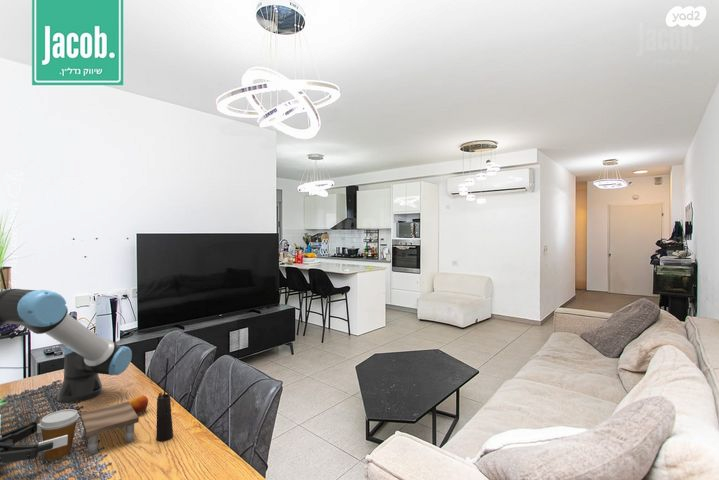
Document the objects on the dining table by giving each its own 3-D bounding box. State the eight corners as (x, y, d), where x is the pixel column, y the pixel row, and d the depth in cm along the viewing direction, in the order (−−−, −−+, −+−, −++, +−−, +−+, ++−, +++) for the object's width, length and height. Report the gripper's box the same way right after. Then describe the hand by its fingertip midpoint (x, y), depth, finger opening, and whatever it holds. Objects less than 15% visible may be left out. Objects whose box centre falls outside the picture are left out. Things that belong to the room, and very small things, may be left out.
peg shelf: (79, 436, 120) (80, 413, 120) (127, 422, 129) (128, 401, 130) (85, 457, 108) (86, 432, 108) (137, 441, 118) (138, 417, 118)
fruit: (140, 416, 131) (132, 397, 132) (125, 425, 133) (116, 405, 134) (157, 407, 139) (148, 388, 140) (142, 415, 141) (134, 396, 142)
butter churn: (145, 434, 122) (148, 354, 122) (175, 427, 128) (178, 350, 128) (148, 447, 115) (151, 362, 115) (180, 438, 120) (183, 357, 121)
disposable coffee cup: (84, 449, 113) (86, 411, 113) (50, 466, 104) (52, 426, 104) (65, 442, 116) (66, 406, 116) (30, 458, 107) (32, 419, 107)
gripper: (-31, 450, 105) (61, 426, 120) (-42, 495, 87) (68, 460, 102) (-30, 425, 105) (62, 404, 120) (-41, 465, 87) (69, 435, 102)
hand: (65, 430), depth 111 cm, fingers open, 13 cm apart
